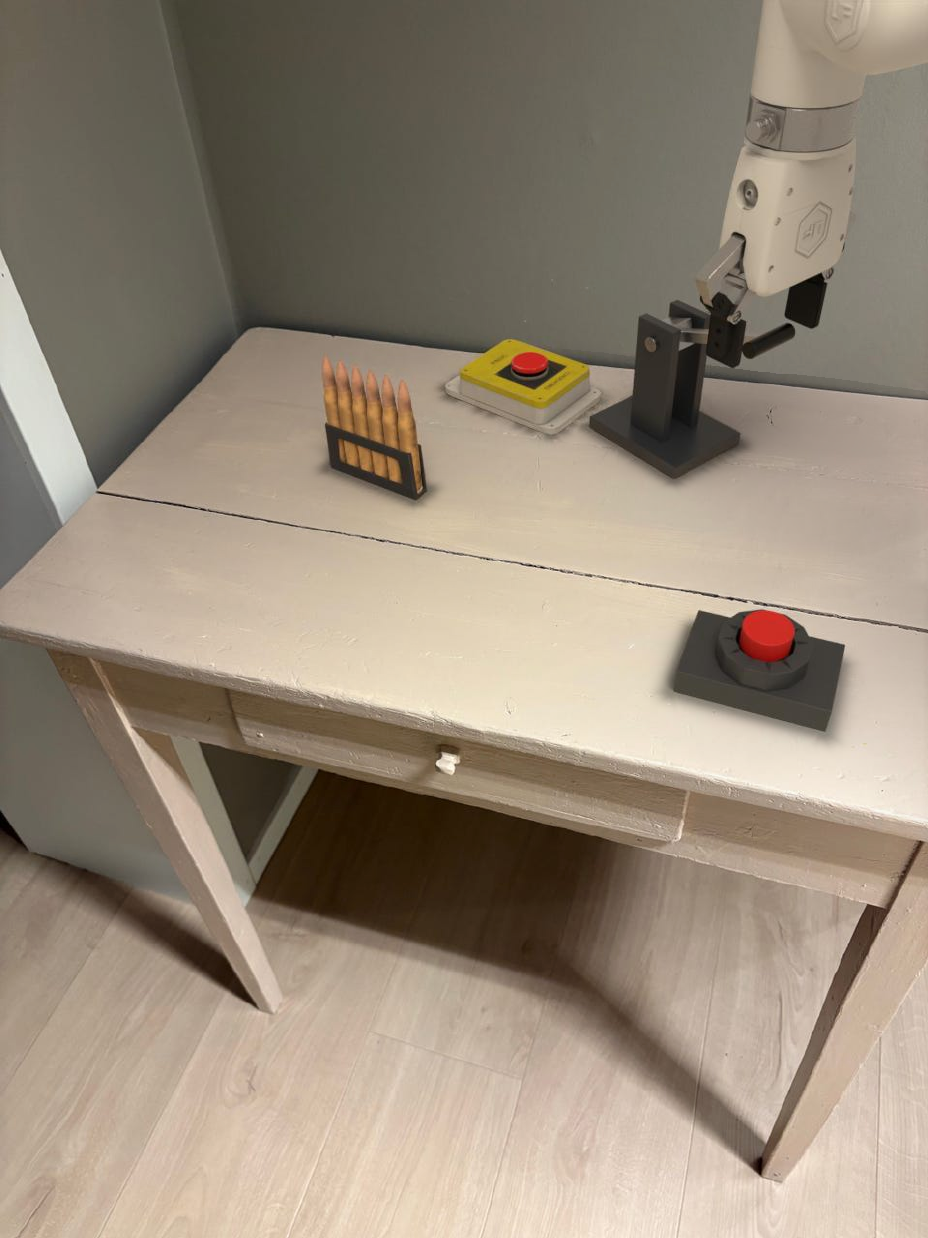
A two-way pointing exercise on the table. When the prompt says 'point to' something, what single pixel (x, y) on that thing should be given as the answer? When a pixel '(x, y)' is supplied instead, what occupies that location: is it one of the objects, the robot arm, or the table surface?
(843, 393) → the table surface
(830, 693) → the button block
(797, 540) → the table surface
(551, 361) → the emergency button
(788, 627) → the red button
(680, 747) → the table surface
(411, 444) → the ammunition clip
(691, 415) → the lever stand
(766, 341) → the tap lever
